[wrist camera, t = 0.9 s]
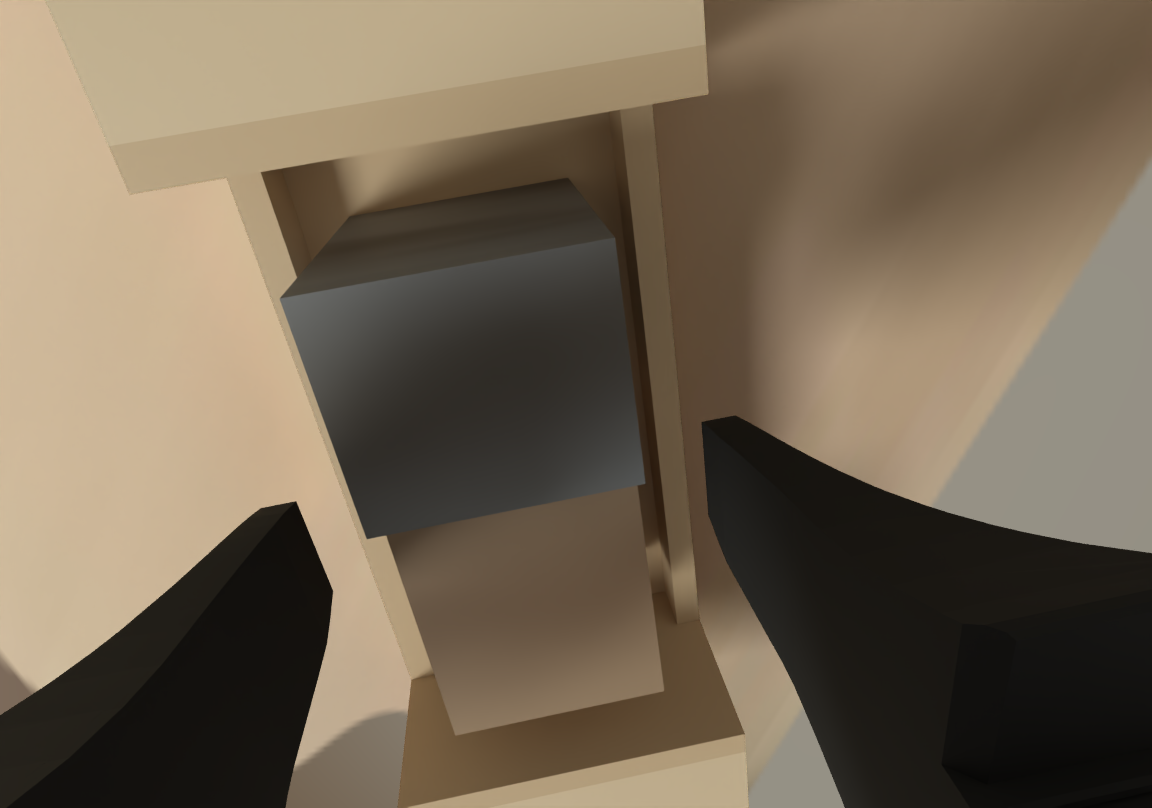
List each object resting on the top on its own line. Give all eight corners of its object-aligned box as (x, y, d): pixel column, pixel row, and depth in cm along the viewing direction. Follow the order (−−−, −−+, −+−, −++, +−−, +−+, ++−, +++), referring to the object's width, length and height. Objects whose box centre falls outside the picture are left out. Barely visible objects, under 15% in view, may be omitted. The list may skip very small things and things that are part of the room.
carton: (693, 670, 21) (750, 831, 17) (446, 723, 21) (437, 901, 16) (611, -140, 12) (689, -259, 8) (168, -70, 12) (-21, -152, 7)
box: (624, 556, 19) (676, 731, 14) (460, 590, 18) (454, 779, 14) (568, 177, 14) (615, 237, 9) (349, 216, 14) (279, 298, 9)
